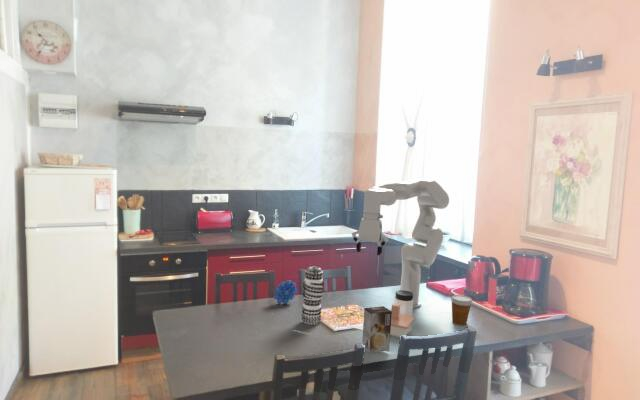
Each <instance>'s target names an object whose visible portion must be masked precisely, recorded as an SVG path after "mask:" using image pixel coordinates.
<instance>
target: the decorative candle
mask: <svg viewBox="0 0 640 400" xmlns="http://www.w3.org/2000/svg"><path fill="white" fill-rule="evenodd" d="M304 272H305V274H304V275H305V276H304V280H303V282H302V288H303V290H302V297H303V304H302V307H301V308H302V310H301V311H302V312H301V323H304V324H306V325H312V326H313V325H317V324H320V322H321V320H322V315H321V314H322V304H321V303H322V299H323V294H322V293H324V290H323V289H324V287H323V286H324V284H325V283H324V281H325V280H324V278H323V274H324V271H323V270H322V268H321V267H319V266H314V265H313V266H309V267H307V268H306V269H305V270H304Z"/></svg>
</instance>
